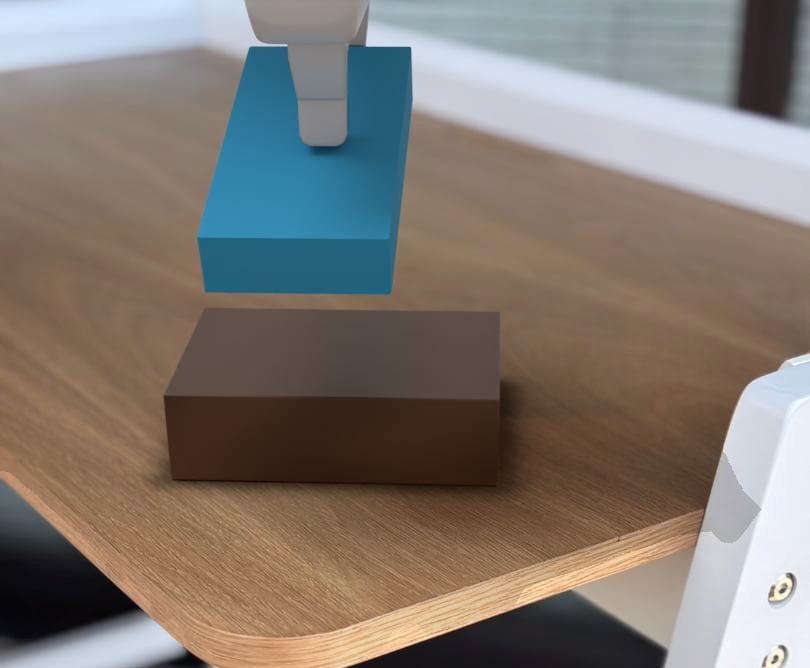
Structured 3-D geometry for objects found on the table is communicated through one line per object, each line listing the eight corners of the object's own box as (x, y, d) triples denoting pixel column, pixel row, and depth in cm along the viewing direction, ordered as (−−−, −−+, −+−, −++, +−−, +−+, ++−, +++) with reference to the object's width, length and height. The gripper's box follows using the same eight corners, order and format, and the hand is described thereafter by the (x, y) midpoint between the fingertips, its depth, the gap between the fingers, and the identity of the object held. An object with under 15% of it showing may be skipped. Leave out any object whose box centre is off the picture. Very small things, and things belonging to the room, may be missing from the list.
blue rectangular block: (395, 392, 58) (419, 149, 71) (388, 239, 53) (416, 6, 66) (219, 390, 58) (274, 148, 71) (196, 237, 53) (260, 6, 66)
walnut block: (170, 479, 64) (162, 394, 62) (210, 384, 73) (204, 307, 71) (497, 486, 64) (499, 400, 62) (497, 389, 72) (500, 311, 70)
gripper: (273, -278, 63) (289, 58, 70) (185, -261, 46) (218, 186, 52) (422, -280, 63) (424, 58, 70) (392, -264, 45) (398, 186, 52)
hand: (335, 114), depth 61 cm, fingers closed on blue rectangular block, 7 cm apart
